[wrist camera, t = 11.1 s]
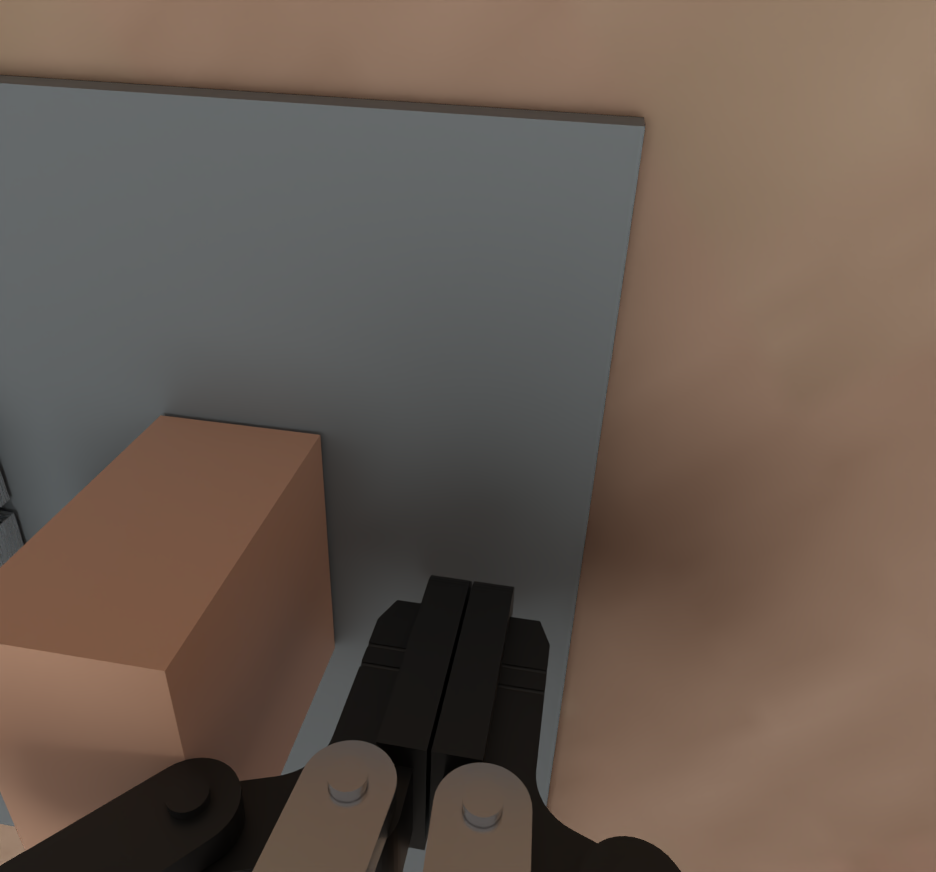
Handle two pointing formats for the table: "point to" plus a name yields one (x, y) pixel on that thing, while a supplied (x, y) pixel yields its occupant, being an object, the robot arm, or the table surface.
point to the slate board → (326, 324)
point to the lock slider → (165, 620)
